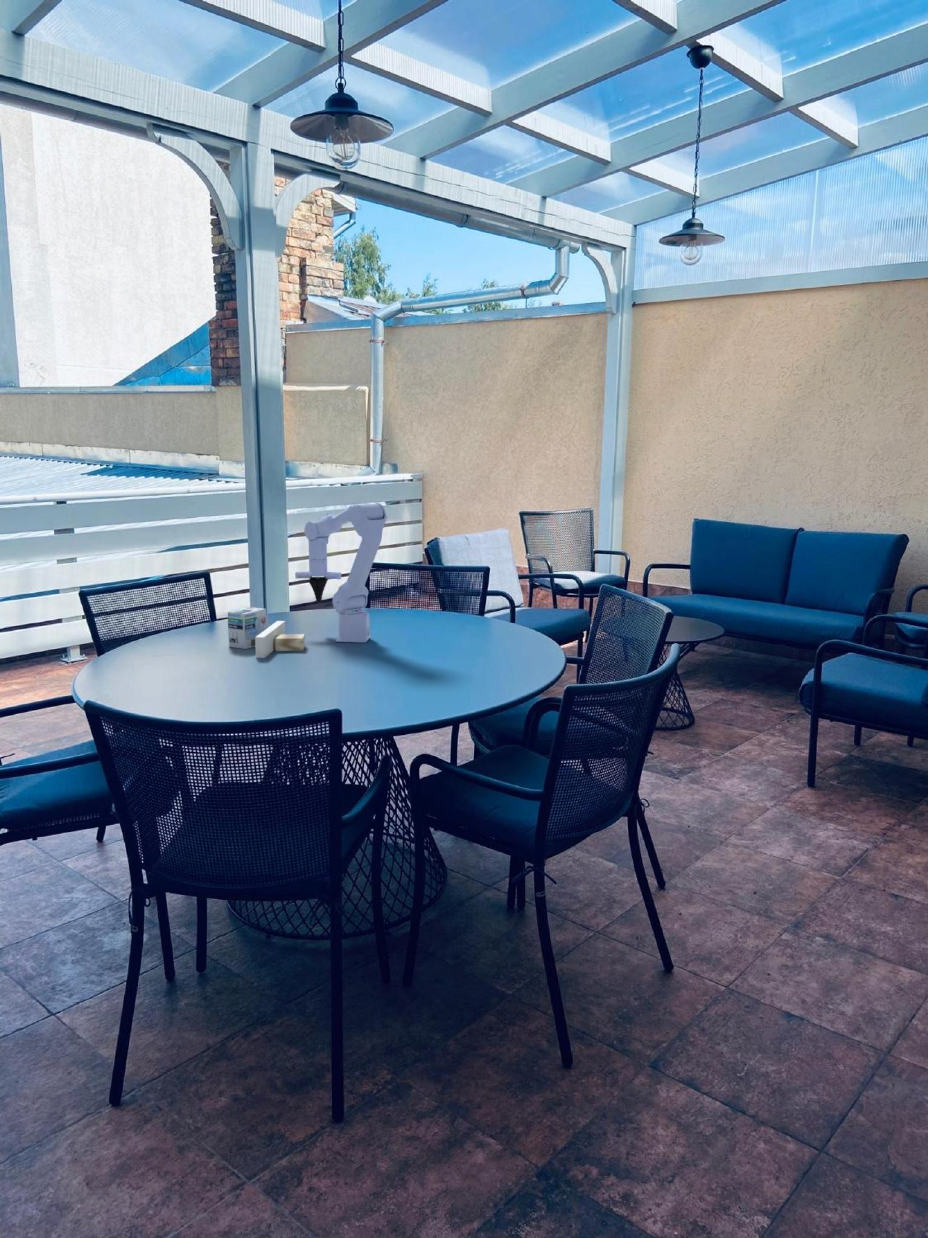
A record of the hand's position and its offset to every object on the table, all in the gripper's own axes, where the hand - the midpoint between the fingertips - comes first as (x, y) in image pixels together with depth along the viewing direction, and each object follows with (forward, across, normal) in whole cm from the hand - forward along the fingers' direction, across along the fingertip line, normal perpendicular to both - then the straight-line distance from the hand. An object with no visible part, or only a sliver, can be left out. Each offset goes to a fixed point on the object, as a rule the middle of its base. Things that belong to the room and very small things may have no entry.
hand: (318, 600), depth 288 cm
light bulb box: (+11, +18, +20) cm, 29 cm away
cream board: (+10, +9, +24) cm, 28 cm away
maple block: (+11, +4, +24) cm, 26 cm away
